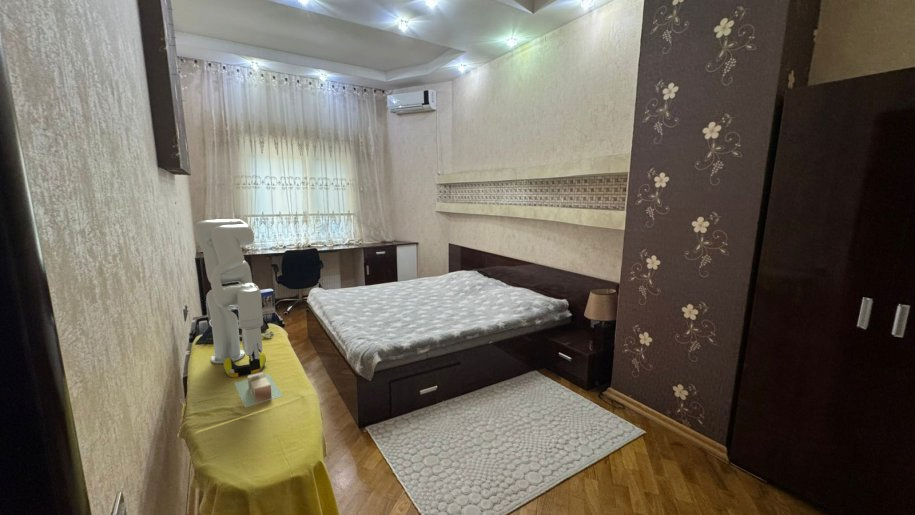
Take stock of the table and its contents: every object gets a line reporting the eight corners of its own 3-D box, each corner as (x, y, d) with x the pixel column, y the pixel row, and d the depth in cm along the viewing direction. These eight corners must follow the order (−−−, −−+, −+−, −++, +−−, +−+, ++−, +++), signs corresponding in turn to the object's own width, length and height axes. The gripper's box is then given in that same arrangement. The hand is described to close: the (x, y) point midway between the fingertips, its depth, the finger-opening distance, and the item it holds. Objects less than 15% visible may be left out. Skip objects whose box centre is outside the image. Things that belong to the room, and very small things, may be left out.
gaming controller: (225, 370, 150) (222, 381, 142) (223, 357, 149) (221, 368, 141) (266, 363, 157) (266, 373, 149) (265, 350, 156) (265, 360, 148)
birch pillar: (247, 375, 135) (254, 389, 126) (262, 371, 139) (270, 384, 130) (248, 388, 136) (255, 402, 127) (263, 383, 139) (271, 397, 130)
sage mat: (234, 384, 139) (234, 383, 139) (268, 375, 147) (268, 373, 147) (245, 409, 124) (245, 407, 124) (283, 397, 132) (283, 395, 132)
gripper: (235, 318, 136) (239, 364, 139) (243, 330, 125) (247, 380, 128) (257, 314, 141) (261, 358, 144) (267, 325, 130) (271, 373, 133)
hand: (255, 368), depth 136 cm, fingers closed
